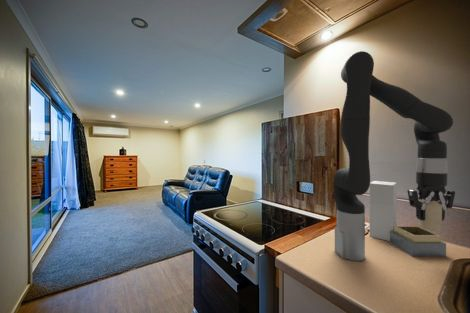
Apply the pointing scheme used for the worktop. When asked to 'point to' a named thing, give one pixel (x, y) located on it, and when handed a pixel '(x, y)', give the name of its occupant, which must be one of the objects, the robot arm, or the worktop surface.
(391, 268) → the worktop surface
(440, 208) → the candle
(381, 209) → the tall white carton
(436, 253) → the grey open box
